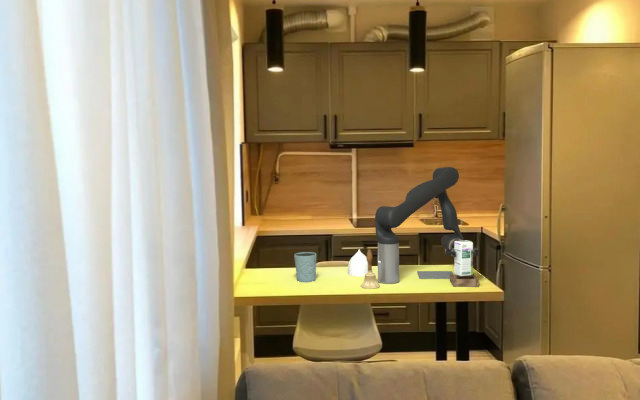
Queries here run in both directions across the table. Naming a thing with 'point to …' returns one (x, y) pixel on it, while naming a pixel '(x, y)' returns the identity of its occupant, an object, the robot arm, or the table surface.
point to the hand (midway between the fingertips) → (464, 254)
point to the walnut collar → (464, 281)
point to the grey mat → (434, 274)
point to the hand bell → (370, 274)
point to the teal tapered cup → (305, 266)
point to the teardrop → (358, 265)
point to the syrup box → (463, 258)
